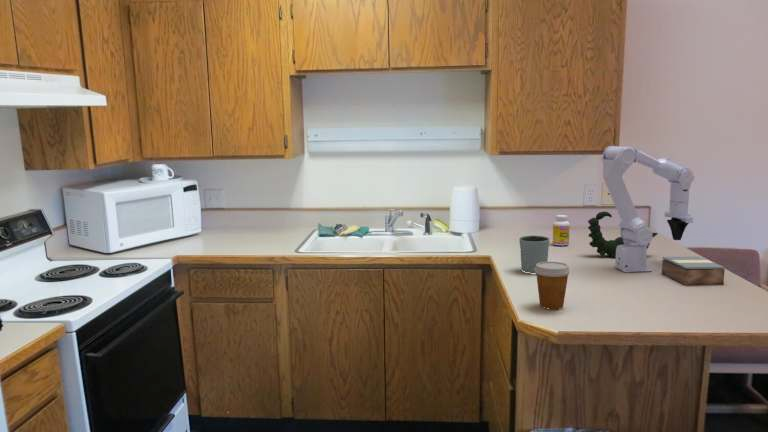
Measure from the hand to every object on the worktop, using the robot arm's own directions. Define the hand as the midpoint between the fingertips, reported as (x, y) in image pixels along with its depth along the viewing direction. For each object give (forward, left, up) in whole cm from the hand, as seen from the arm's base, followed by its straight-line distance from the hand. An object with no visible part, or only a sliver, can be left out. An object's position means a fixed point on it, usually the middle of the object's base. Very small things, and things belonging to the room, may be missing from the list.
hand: (676, 239), depth 189 cm
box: (-4, -17, -9) cm, 20 cm away
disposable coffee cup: (-57, -40, -10) cm, 70 cm away
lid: (-4, -17, -4) cm, 18 cm away
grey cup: (-51, -2, -10) cm, 52 cm away
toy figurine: (-12, +16, -10) cm, 22 cm away
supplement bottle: (-28, +39, -10) cm, 49 cm away
